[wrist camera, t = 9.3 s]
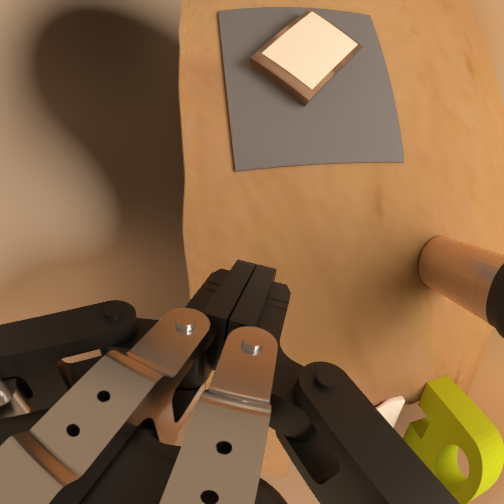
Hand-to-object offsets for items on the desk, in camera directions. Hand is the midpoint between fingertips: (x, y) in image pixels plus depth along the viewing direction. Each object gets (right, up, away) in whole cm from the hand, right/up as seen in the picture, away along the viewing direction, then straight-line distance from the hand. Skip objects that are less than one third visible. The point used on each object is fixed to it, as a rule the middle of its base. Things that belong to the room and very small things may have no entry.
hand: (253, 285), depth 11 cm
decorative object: (+42, -37, +38) cm, 67 cm away
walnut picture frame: (+4, +25, +22) cm, 33 cm away
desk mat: (+9, +27, +24) cm, 37 cm away
